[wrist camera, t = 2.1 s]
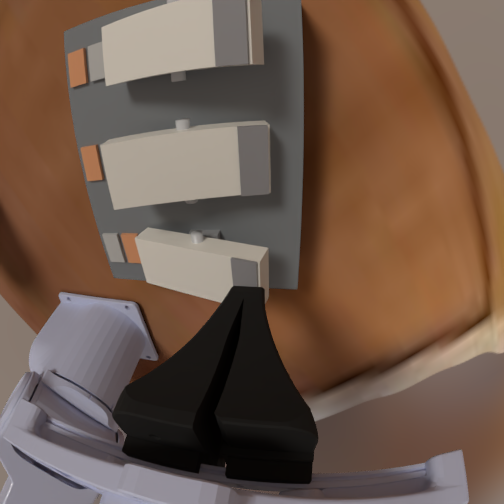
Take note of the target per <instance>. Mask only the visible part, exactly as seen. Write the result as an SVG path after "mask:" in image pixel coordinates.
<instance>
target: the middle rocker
mask: <svg viewBox="0 0 504 504" xmlns="http://www.w3.org/2000/svg"><path fill="white" fill-rule="evenodd" d="M175 123H176V128H173V129H166V130H159V131H153V132H147V133H141V134H135V135H129V136H124V137H119V138H114V139H109V140H107V141H106V142H105V143H103V144H102V145H101V146H100V148H101V153H102V158H103V163H104V168H105V173H106V178H107V182H108V187H109V191H110V195H111V199H112V203H113V208H114V210H117V209H124V208H131V207H139V206H146V205H154V204H162V203H170V202H178V201H185V202H186V203H187V204H194V203H196V202H198V199H205V198H215V197H225V196H236V195H241V196H252V195H264V194H269V193H271V166H270V125H269V124H268V123H267V122H266V121H265V120H262V121H244V122H230V123H218V124H207V125H198V126H190V119H189V118H184V119H178V120H175Z"/></svg>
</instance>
